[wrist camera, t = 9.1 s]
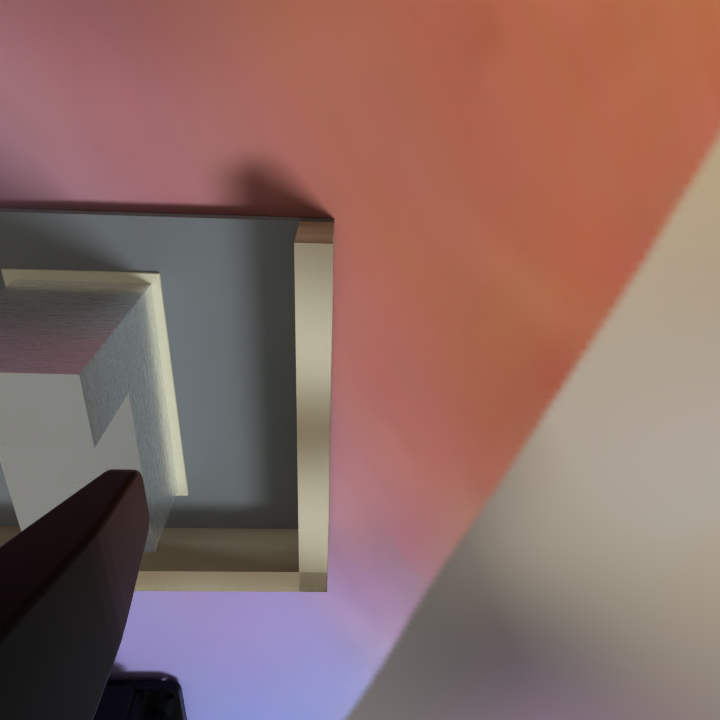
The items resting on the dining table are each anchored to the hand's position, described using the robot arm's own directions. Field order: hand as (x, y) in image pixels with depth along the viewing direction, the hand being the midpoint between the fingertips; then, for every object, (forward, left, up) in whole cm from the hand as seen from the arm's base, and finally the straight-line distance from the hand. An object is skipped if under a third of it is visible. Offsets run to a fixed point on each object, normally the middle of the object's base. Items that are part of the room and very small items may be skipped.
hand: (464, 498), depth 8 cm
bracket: (-5, +10, -10) cm, 15 cm away
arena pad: (-6, +9, -11) cm, 15 cm away
